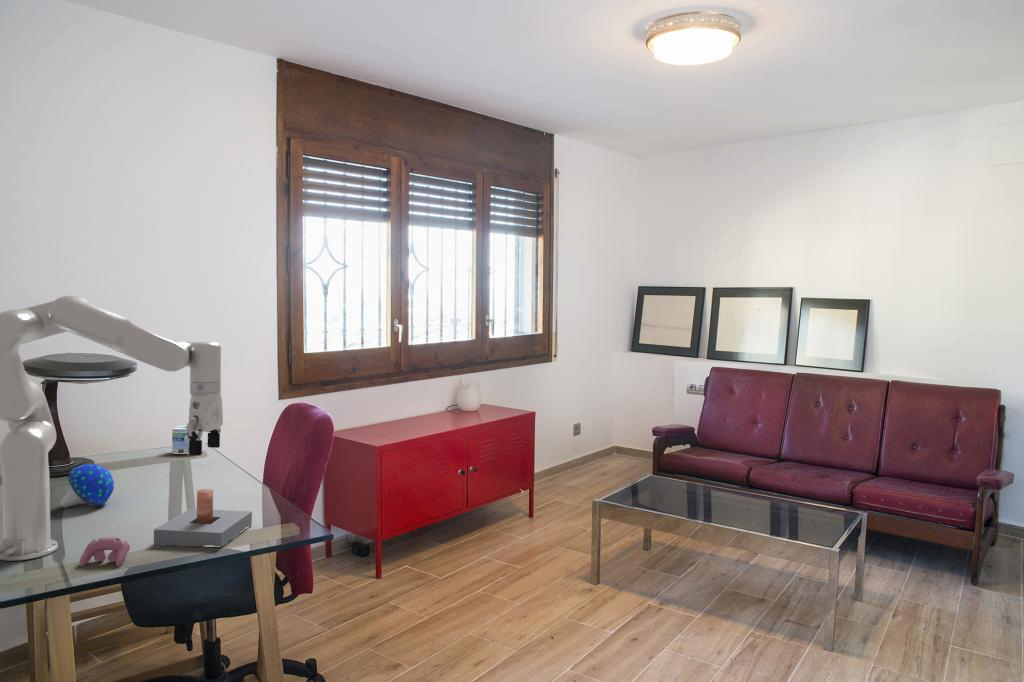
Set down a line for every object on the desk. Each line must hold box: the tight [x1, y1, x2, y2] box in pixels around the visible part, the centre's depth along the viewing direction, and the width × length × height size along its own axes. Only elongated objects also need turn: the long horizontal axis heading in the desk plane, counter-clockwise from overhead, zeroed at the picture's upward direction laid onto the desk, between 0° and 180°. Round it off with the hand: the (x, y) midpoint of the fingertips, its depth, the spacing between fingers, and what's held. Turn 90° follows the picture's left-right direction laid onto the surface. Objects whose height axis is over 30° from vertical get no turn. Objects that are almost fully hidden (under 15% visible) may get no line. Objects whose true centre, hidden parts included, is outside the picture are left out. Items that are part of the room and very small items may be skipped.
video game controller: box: [79, 536, 131, 568], centre depth 166 cm, size 10×5×7 cm, turn 93°
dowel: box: [196, 488, 214, 524], centre depth 187 cm, size 4×4×12 cm
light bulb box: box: [171, 425, 206, 454], centre depth 279 cm, size 11×7×11 cm, turn 95°
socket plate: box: [153, 508, 253, 548], centre depth 187 cm, size 18×18×4 cm
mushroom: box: [59, 463, 115, 508], centre depth 208 cm, size 14×14×15 cm
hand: (204, 451), depth 186 cm, fingers open, 9 cm apart
